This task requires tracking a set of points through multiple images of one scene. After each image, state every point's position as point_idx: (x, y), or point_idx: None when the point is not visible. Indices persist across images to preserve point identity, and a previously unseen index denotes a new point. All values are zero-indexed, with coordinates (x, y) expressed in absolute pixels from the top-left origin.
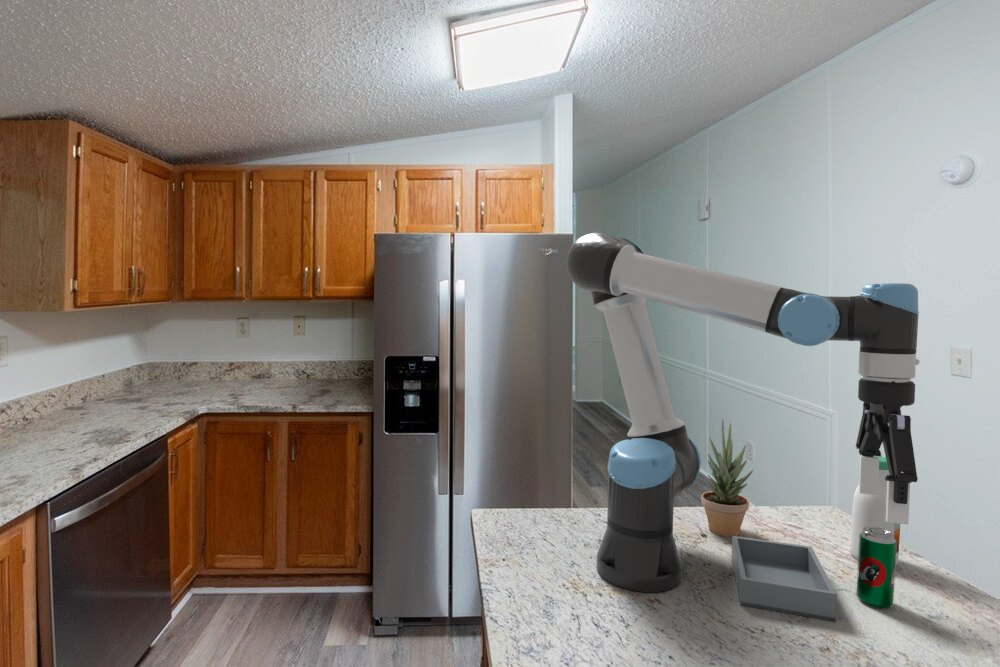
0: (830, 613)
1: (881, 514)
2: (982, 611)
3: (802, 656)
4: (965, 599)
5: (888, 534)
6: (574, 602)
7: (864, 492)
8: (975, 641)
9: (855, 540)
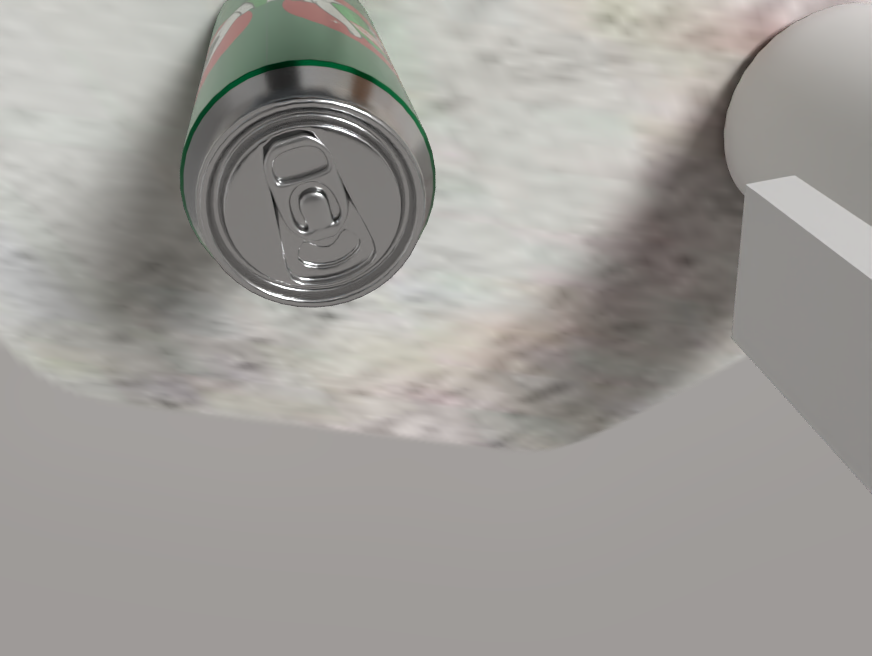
0: None
1: None
2: (442, 421)
3: None
4: (521, 389)
5: (316, 272)
6: None
7: (747, 232)
8: (163, 371)
9: (858, 40)
